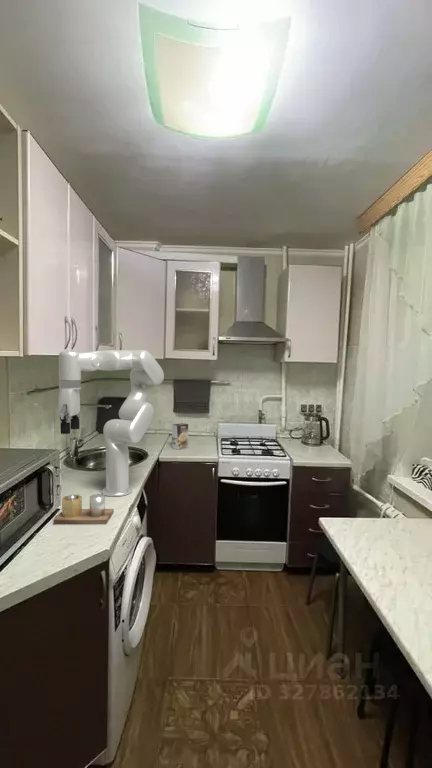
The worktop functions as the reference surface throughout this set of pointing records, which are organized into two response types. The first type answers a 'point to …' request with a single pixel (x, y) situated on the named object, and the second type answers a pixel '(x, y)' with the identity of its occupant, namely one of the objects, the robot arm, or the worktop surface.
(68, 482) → the worktop surface
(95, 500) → the pair of light bulbs
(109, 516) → the pipe board
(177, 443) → the coffee box
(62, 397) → the robot arm
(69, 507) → the brass coupling
